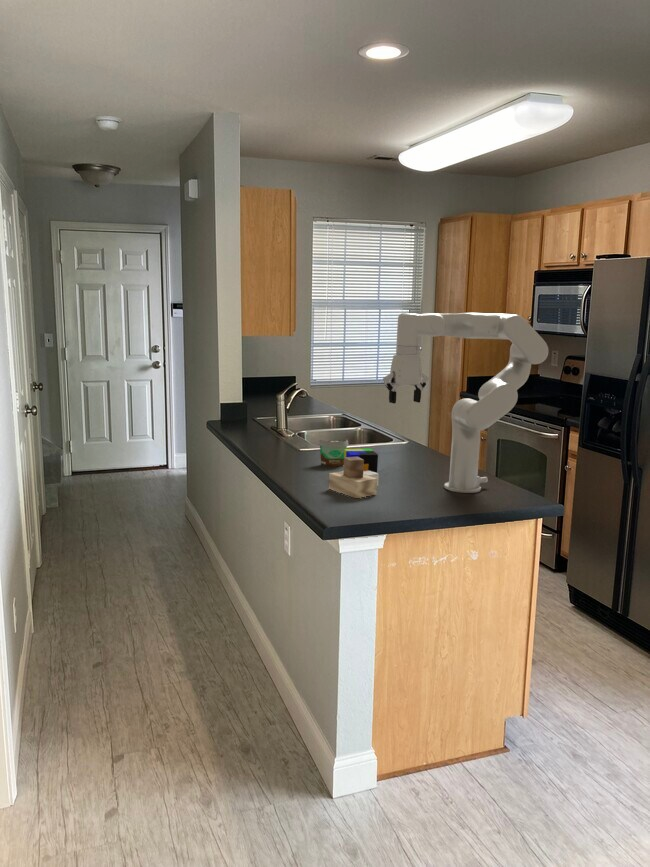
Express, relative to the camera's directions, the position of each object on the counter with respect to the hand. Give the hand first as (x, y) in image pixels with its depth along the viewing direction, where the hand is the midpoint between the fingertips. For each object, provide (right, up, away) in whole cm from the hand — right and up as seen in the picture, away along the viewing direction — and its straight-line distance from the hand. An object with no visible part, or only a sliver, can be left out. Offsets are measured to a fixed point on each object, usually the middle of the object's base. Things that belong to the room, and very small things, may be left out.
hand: (404, 402), depth 239 cm
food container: (-23, -23, +39) cm, 50 cm away
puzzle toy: (-14, -27, +20) cm, 36 cm away
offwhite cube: (-12, -29, +9) cm, 32 cm away
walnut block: (-17, -25, -1) cm, 30 cm away
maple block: (-18, -30, +1) cm, 35 cm away
